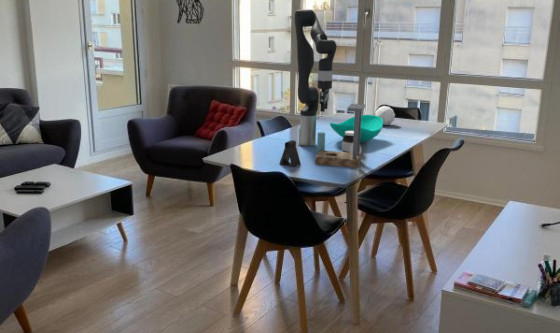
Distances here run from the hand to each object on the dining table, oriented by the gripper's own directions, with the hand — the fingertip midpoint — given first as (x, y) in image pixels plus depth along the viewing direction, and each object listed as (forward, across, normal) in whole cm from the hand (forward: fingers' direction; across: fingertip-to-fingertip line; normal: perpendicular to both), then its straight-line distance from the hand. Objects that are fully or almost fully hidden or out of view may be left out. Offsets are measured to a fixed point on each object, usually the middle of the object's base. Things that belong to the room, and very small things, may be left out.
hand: (323, 110), depth 293 cm
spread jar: (+24, -7, +15) cm, 30 cm away
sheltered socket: (+24, +14, +11) cm, 30 cm away
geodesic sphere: (+24, -94, +26) cm, 101 cm away
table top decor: (+24, -37, +14) cm, 47 cm away
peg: (+24, 0, -1) cm, 24 cm away
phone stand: (+24, +24, -12) cm, 37 cm away
